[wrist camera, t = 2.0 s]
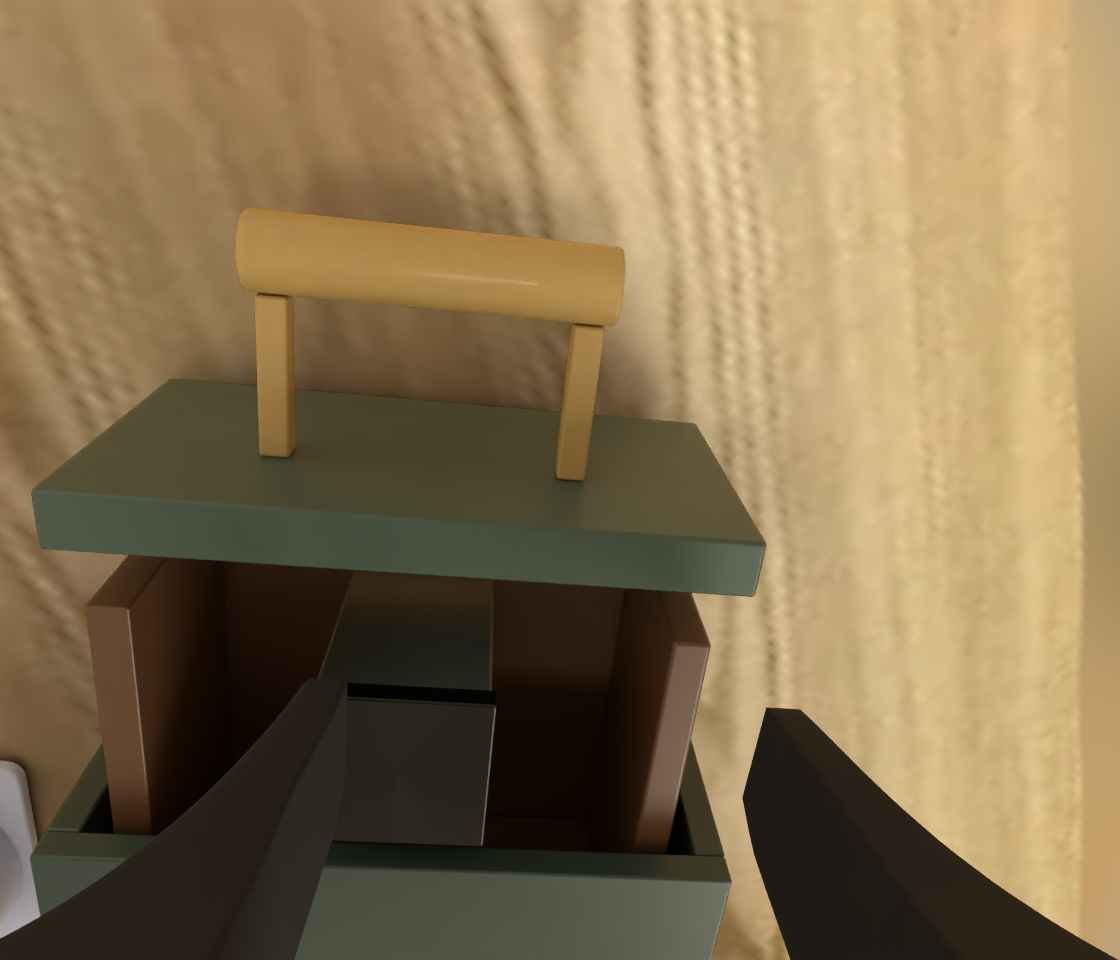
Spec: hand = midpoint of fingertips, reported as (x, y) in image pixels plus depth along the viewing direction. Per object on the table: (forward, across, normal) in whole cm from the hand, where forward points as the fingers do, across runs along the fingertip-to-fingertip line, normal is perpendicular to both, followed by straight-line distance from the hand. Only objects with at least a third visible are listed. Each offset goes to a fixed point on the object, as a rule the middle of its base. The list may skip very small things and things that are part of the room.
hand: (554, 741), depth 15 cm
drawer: (+9, +3, +2) cm, 10 cm away
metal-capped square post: (+8, +3, +2) cm, 9 cm away
